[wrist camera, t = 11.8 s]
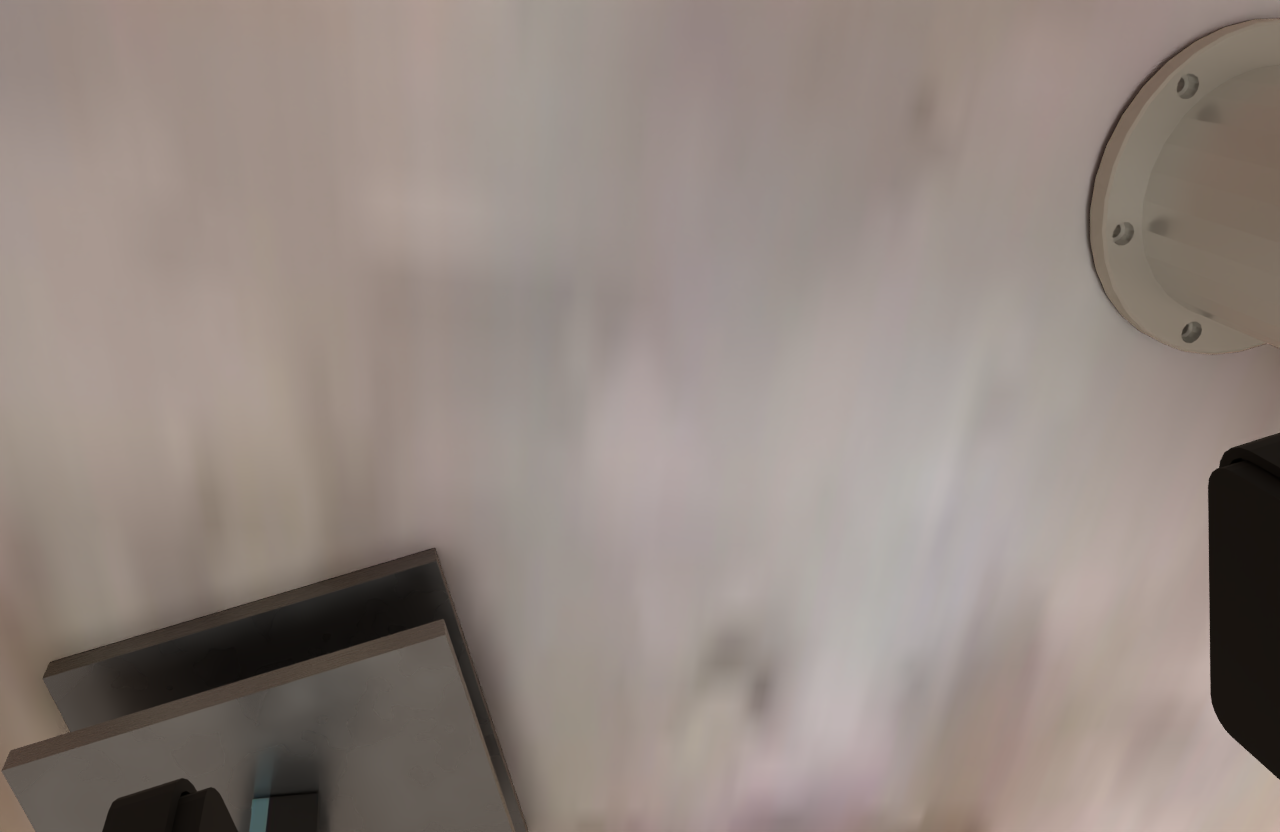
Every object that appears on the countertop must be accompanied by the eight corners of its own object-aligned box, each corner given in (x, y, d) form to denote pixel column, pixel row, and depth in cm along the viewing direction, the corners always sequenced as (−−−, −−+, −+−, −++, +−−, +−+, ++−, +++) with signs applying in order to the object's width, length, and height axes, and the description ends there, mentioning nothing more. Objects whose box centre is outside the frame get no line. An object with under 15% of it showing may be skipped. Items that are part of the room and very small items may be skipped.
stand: (434, 548, 43) (445, 634, 37) (528, 831, 48) (549, 942, 43) (49, 662, 41) (1, 770, 35) (193, 941, 46) (170, 1072, 41)
